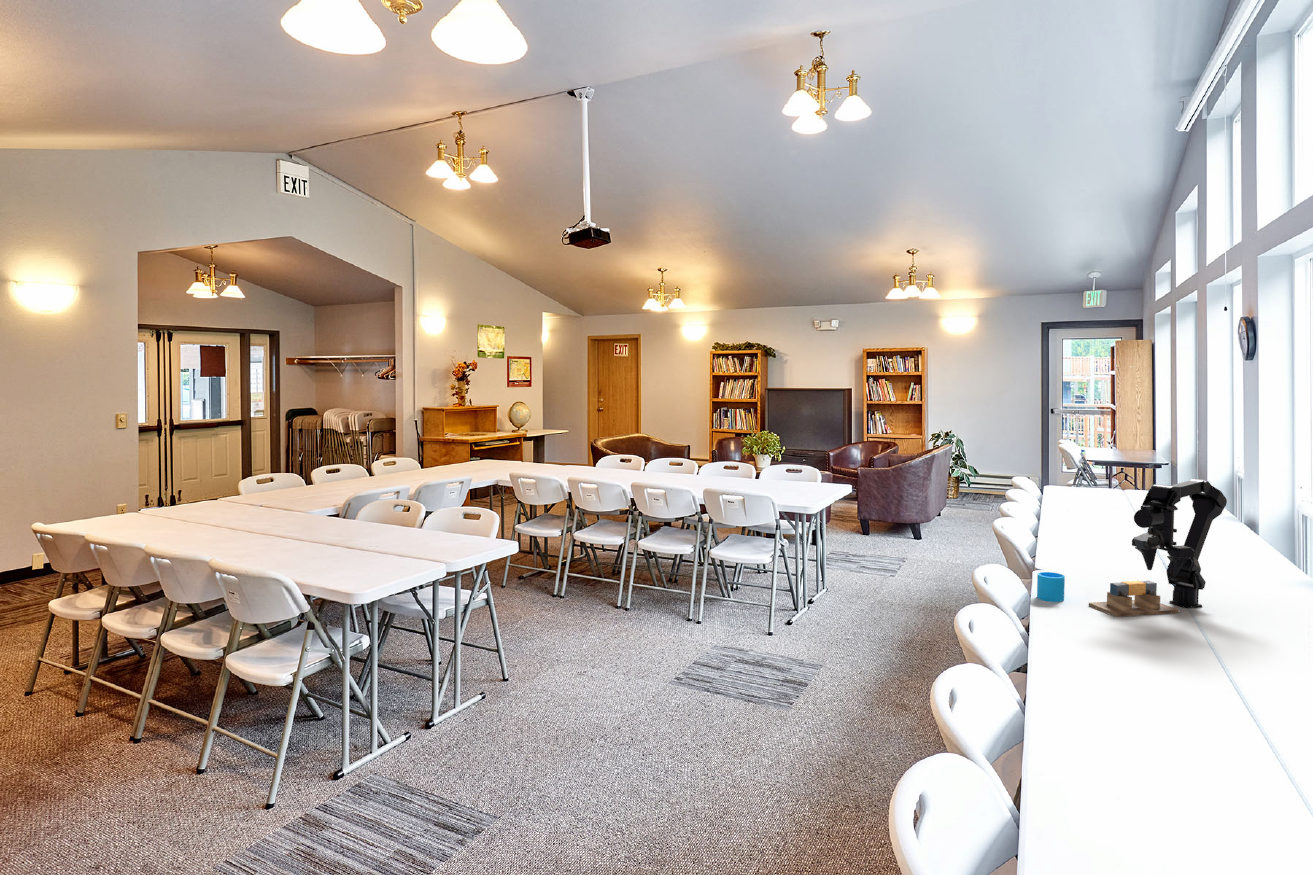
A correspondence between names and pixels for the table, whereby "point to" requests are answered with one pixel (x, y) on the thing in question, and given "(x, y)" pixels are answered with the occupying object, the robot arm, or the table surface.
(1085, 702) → the table surface
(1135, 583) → the spanner bar
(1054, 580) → the mug
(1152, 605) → the tool rack
